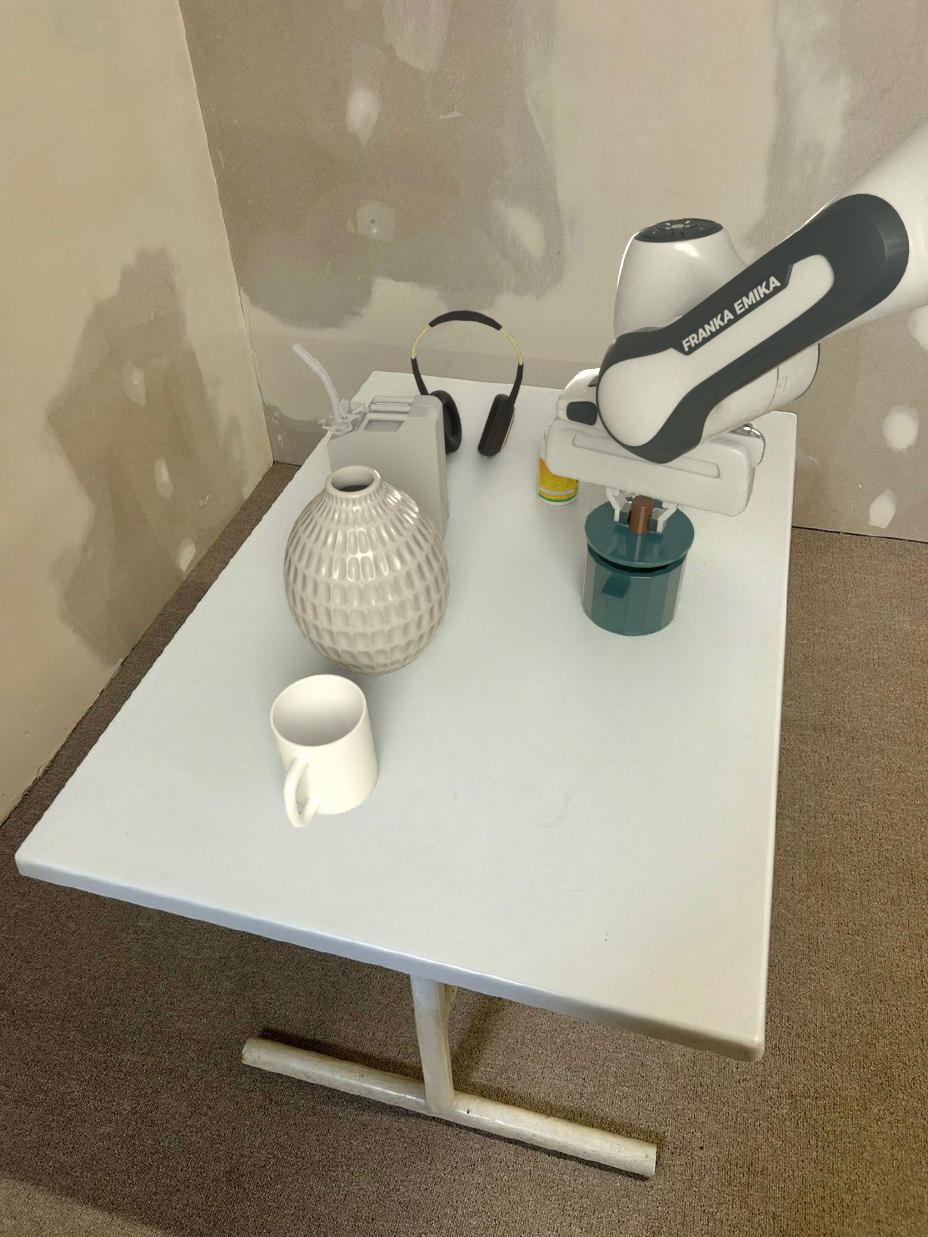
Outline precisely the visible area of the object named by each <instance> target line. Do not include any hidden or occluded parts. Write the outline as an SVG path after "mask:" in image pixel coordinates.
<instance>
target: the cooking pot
mask: <svg viewBox="0 0 928 1237" xmlns="http://www.w3.org/2000/svg"><path fill="white" fill-rule="evenodd" d="M585 542H586V543H585V555H584V556H585V557H584V569H583V581H582V594H581V595H582V602H581V603H582V607H583V610H584V612H585V615H586V616H587V617H588V618H589V620H590V621H591V622H592V623H593V624H595V625H596V626H597V627H599V628H601V629H602V630H604V631H607V632H609V633H611V634H614V635H619V636H626V637H642V636H648V635H652V634H655V633H658V632H660V631H662V630H663V629H665V628H667V627H668V626H669V625H670V624H671V623H672V621H674V618H675V617H676V613H677V611H678V608H679V604H680V598H681V593H682V586H683V582H684V581H683V580H684V577H685V576H684V575H685V570H686V564H687V560H688V559H687V558H688V554H689V551H688V552H687V553H686V554H685V555H684V556H683V557H682V558H680V559H678V560H677V561H674V562H672V563H669V564H666V565H662V566H658V567H645V568H642V567H631V566H626V565H621V564H618V563H615V562H612V561H610V560H608V559H606V558H604V557H602V556H601V555H599V554H598V553H597V552H595V551H594V550H593V549H592V548H591V546H590V545H589V544H588V542H587V540H586V541H585Z"/></svg>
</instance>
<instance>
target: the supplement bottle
mask: <svg viewBox="0 0 928 1237" xmlns="http://www.w3.org/2000/svg"><path fill="white" fill-rule="evenodd" d="M551 424H552V423H550V424H548V425H547V426H545V428H544V430H543V440H542V441H541V443H540V444H539V445H538V448H537V465H536V466H537V469H536V494H537V495H536V496H537V498H538V499H539V500H540V501H542V502H543V503H545V504H546V505H550V506H553V507H554V506H556V507H559V506H560V507H561V506H565V505H569V504H571V503H573V502H574V501H575V500H576V499H577V497H578V495H579V486H580V485H579V484H580V480H576V479H571V478H567V477H563V476H559V475H555V474H552V473H551V472H550V470H549V469H548V468H547V466H546V464H545V449H546V442H547V436H548V431H549V428H550V425H551Z"/></svg>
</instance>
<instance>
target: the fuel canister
mask: <svg viewBox="0 0 928 1237" xmlns="http://www.w3.org/2000/svg"><path fill="white" fill-rule="evenodd" d="M289 350H290V351H291V352H292V353H293V354H294V355H295V356H297V357H298V358H299V360H300V361H302V362H303V363H304V364H305V365H306V367H307V368H308V370H310V371H311V372H312V373H313V374H315V376H317V378H318V379H319V380H320V382H321V384H322V386H323V389H324V390H325V393H326V394H327V396H328V399H329V401H330V405H331V406H330V407H331V411H332V412H331V413H332V414H328V415H327V416H326V417H324V418H320V419H319V421H318V422H317V424H318V425H319V424H320V425H321V424H322V425H321V428H322V429H323V430H327V431H329V432H330V433H331V436H330V437H329V440H328V441H327V444H326V447H327V448H326V449H327V453H328V459H329V465H330V471H331V473H332V472H334V471H335V470H337V469H339V468H342V467H345V466H350V465H363V466H367V467H370V468H372V469H374V470H376V471H377V472H378V473H379V475H380V478H381V480H382V481H384V482H386V483H388V484H390V485H392V486H394V487H396V488H397V489H399V490H401V491H403V492H404V493H406V494H407V495H408V496H410V497H411V498H412V499H413V500H415V501H416V502H417V503H418V504H419V505H420V506H421V507H422V509H423V510H424V511H425V512H426V513H427V514H428V516H429V518H430V519H431V521H432V522H433V524H434V525H435V527H436V528H437V530H438V532H439V535H440V537H441V539H442V541H443V540H444V538H445V536H446V530H447V527H448V523H449V519H450V507H449V490H448V476H447V460H446V454H445V441H444V425H443V410H442V403H441V401H440V400H439V399H438V398H437V397H435V396H428V395H420V394H416V395H415V396H399V395H374V396H373V398H372V399H371V401H370V402H369V404H368V405H367V406H366V403H365V402H356V401H350V400H349V398H348V397H347V398H346V399H345V398H341V399H340V398H339V395H338V392H337V390H336V389H335V386H334V384H333V382H332V379H331V377H330V375H329V373H328V372H327V371H326V370H325V369H324V368H323V365H322V364H321V363H320V361H318V360H317V359H316V358H314V357H313V356H312V355H311V354H310V353H309V352H308V351H307V350H306V349H305V348H303V346H302V345H300V344H299V343H298V342H297V341H296V342H294V343H293V344H292V345H291V346H290V347H289ZM361 407H362V410H359V411H357V412H355V411H356V410H358V409H359V408H361ZM353 412H354V413H353ZM329 419H331V421H330V422H329V425H327V423H328V420H329Z"/></svg>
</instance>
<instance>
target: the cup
mask: <svg viewBox="0 0 928 1237" xmlns="http://www.w3.org/2000/svg"><path fill="white" fill-rule="evenodd" d="M367 703H368V702H367V698H366V695H365V693H364V692H363V690H362V689H361V688H360V686H358V685H357V684H356V683H355V682H354V681H353V680H350V679H349V678H346V677H345V676H341V675H336V674H327V673H325V674H314V675H310V676H306V677H303V678H300V679H298V680H296V681H294V682H293V683H290V684H289V685H288V686H286V687H285V688H284V689H283V690H282V691H281V692H280V693H279V694H278V695H277V696H276V698H275V700H274V701H273V703H272V705H271V707H270V712H269V724H270V727H271V728H270V729H271V731H272V735H273V737H274V741H275V744H276V748H277V751H278V753H279V754H278V755H279V758H280V761H281V763H282V764H281V765H282V767H283V770H284V773H285V777H284V781H283V784H282V785H283V787H282V802H283V810H284V813H285V817H286V820H287V821H288V823H289V824H290V826H291V827H293V828H295V829H302V828H304V827H306V826H307V825H309V823H310V822H311V821H312V820H313V818H314V816H315V815H316V814H319V815H328V816H329V815H339V814H343V813H347V812H349V811H352V810H353V809H355V808H357V807H358V806H360V805H362V804H363V803H364V802H365V801H367V799H368V798H369V797H370V795H371V794H372V792H373V791H374V789H375V787H376V785H377V781H378V775H379V766H378V759H377V753H376V748H375V742H374V737H373V731H372V725H371V720H370V714H369V709H368V704H367ZM298 804H299V805H300V806H302V808H301V809H300V811H299V808H298Z"/></svg>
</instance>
